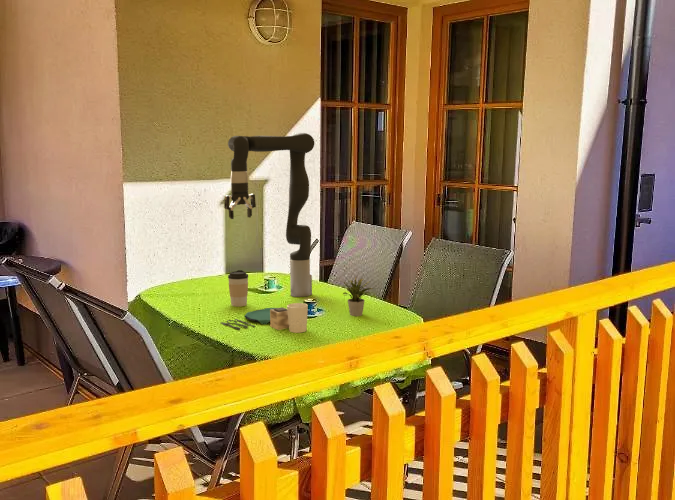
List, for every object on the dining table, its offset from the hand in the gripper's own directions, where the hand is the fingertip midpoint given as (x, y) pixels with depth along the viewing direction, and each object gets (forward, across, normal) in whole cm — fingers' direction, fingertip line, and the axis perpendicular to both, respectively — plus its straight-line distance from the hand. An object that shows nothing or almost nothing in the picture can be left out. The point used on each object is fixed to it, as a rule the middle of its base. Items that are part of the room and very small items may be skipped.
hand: (240, 218), depth 311 cm
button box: (+38, +7, +47) cm, 61 cm away
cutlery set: (+39, +9, +32) cm, 51 cm away
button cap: (+33, +7, +47) cm, 58 cm away
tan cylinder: (+38, +4, +55) cm, 67 cm away
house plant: (+38, -27, +49) cm, 68 cm away
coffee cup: (+38, +4, +4) cm, 39 cm away
